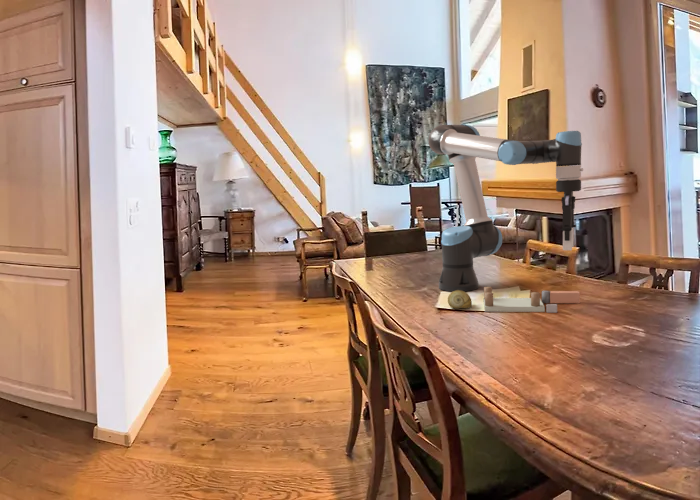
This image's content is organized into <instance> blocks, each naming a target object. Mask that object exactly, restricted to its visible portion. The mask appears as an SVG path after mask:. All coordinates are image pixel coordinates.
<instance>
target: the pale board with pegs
mask: <svg viewBox="0 0 700 500" xmlns="http://www.w3.org/2000/svg"><path fill="white" fill-rule="evenodd" d="M483 293H484V295H483V309H484V312H486V313H487V312H489V313H491V312H492V313H493V312H496V313H497V312H498V313H499V312H501V313H503V312H505V313H506V312H507V313H510V312H511V313H512V312H513V313H515V312H517V313H520V312H522V313H523V312H524V313H525V312H526V313H527V312H529V313H532V312H533V313H534V312H535V313H539V312H540V313H545V312H546V313H551V314H553V313H558V303H545V305H544V303H542V298H541V293H540V292H539V291H537V292H536V291H533V292H530V297H494V293H493V286H484V287H483ZM545 308H546V309H545Z"/></svg>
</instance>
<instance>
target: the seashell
mask: <svg viewBox="0 0 700 500" xmlns="http://www.w3.org/2000/svg"><path fill="white" fill-rule="evenodd" d="M447 303H448V306H449V307H450V308H452V309H455V310H458V309H461V308H462V309H465V310H466V309H470V308H472V307H473V304H472V298H471V295H469V294H468V293H467V291H461V290H456V291H451V292H450V293H449V294H448V297H447Z"/></svg>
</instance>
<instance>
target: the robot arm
mask: <svg viewBox="0 0 700 500" xmlns="http://www.w3.org/2000/svg"><path fill="white" fill-rule="evenodd" d="M427 141H428V146H429V148H430V150H432V152H434V153H435V154H438V155H447V157H448V161H449V163H451V164H452V165H453V167H454V173H455V175H456V176H455V177H456V181H457V184H458V191H459V194H460V199H461V203H462V209H463V213H464V217H465V223H464V225H459V226H458V225H457V226H453V227H449V228H447V229H445V230H443V231H442V233H441V241H440V242H441V243H440V244H441V255H442V256H441V257H442V260H441V261H442V269H441V273H440V275H439V280H438V289H439V290H441V291H446V292H453V291H456V290H461V291H464V292H469V291H471V292H472V291H474V290H477V289H479V280H478V277H477V275H476V272H475V269H474V259H476V258H481V257H487V256H491V255H494V254H495V253H497V252H498V251H499V250H500V248H501V246H502V244H503V235H502V231H501V230H500V229H499V228H498V226H496V225H494V222H493V219H491V217H489V216H488V212H487V209H486V208H487V207H486V203H485V199H484V194H483V190H482V184H481V181H480V176H479V172H478V168H477V162H476V158H480V159H485V160H491V161H496V162H497V161H498V162H501V163H502V164H504V165H508V166H515V165H523V164H524V165H527V164H533V165H534V164H535V165H536V164H543V163H544V164H547V163H555V179H556V182H555V190H556V192H558V193H563V196H562V197H561V200H560V201H561V210H562V227H561V228H560V230H559V231H560V232H562V251H572V250H573V248H574V247H575V245H574V243H575V239H574V237H575V233H574V230H575V228H576V227H577V225H576V224H575V208H576V207H575V203H576V196H574V192H579V191H581V190H582V180H581V179H580V178H581V177H582V172H583V171H584V168H582V145H583V143H582V133H581V132H580V131H579V130H565V131H560V132H557V133H556V135H555V138H553V139H544V140H513V139H507V138H499V137H491V136H483V135H481V134H480V132H479V130H477V128H475V127H474V126H472V125H467V124H464V123H463V124H441V125H440V124H439V125H437V126H435V127H434V128H433V129H432V130H431V131H430V133H429V135H428V139H427Z"/></svg>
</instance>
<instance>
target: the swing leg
mask: <svg viewBox="0 0 700 500" xmlns="http://www.w3.org/2000/svg"><path fill="white" fill-rule="evenodd" d="M541 301H542V303H543V304H580V303H581V292H580V291H579V290H542V291H541Z"/></svg>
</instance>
